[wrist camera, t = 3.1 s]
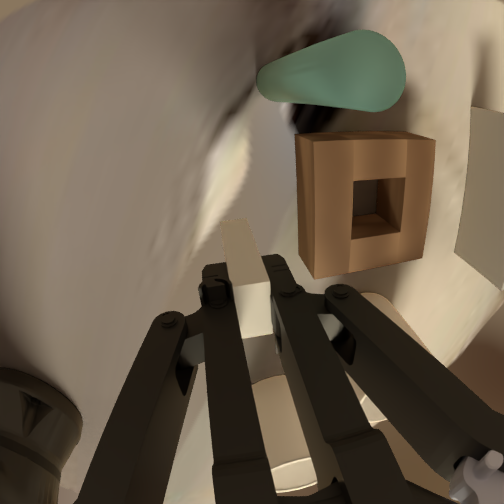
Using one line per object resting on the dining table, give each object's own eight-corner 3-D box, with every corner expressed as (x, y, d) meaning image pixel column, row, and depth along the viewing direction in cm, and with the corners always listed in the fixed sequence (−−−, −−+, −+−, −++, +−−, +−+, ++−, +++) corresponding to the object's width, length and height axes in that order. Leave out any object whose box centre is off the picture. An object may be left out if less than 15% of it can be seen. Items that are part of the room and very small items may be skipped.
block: (298, 254, 27) (314, 279, 24) (294, 133, 22) (313, 141, 19) (398, 238, 28) (422, 258, 25) (405, 131, 23) (435, 140, 20)
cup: (381, 275, 30) (439, 341, 21) (398, 345, 36) (438, 404, 27) (308, 316, 30) (347, 396, 22) (339, 377, 36) (371, 443, 27)
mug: (297, 432, 41) (317, 493, 32) (227, 437, 39) (238, 504, 29) (328, 372, 35) (362, 445, 26) (242, 375, 33) (261, 460, 24)
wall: (454, 252, 30) (500, 290, 23) (470, 106, 23) (533, 121, 16) (465, 249, 31) (511, 286, 24) (482, 108, 23) (543, 124, 16)
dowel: (258, 102, 21) (333, 111, 10) (254, 62, 19) (327, 25, 8) (299, 100, 21) (406, 113, 10) (296, 61, 20) (403, 36, 8)
